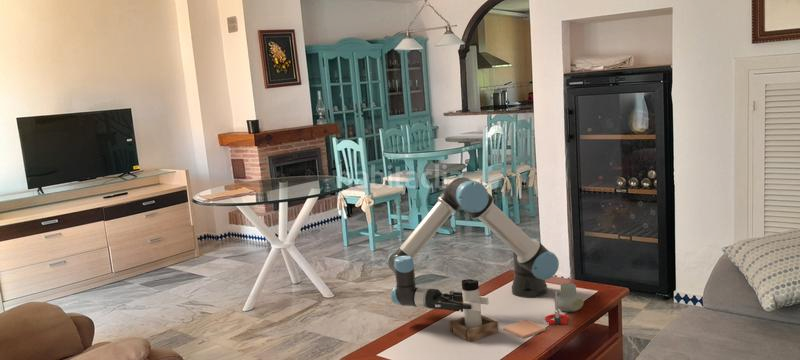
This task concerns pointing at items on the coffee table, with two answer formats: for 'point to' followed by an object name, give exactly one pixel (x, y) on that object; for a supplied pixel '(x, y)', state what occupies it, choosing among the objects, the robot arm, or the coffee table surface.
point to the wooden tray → (474, 333)
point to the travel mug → (472, 295)
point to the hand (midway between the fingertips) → (484, 303)
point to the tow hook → (556, 314)
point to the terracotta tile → (524, 328)
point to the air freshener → (569, 298)
